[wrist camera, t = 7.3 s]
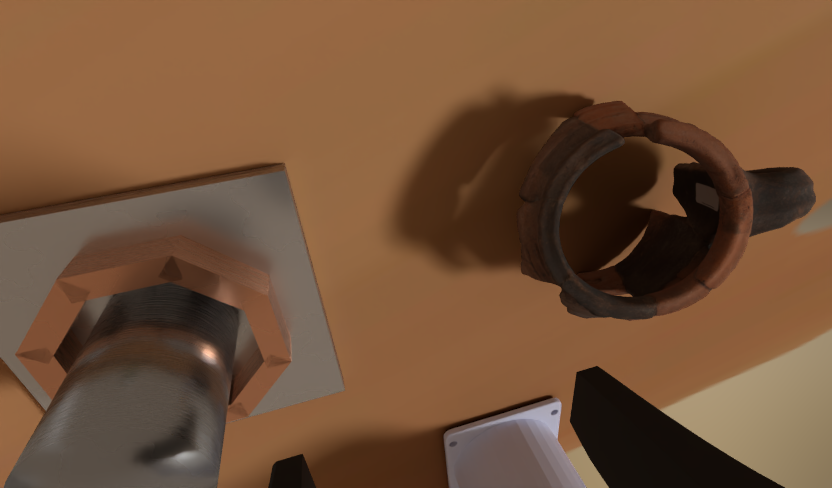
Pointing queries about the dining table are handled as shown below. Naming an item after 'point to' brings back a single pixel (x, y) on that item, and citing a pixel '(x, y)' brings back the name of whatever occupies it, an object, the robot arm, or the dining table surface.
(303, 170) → the dining table surface
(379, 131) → the dining table surface
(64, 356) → the flange plate
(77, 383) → the grey cylinder
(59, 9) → the dining table surface
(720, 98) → the dining table surface
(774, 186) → the pottery mug
